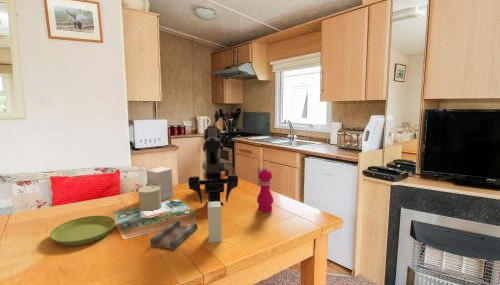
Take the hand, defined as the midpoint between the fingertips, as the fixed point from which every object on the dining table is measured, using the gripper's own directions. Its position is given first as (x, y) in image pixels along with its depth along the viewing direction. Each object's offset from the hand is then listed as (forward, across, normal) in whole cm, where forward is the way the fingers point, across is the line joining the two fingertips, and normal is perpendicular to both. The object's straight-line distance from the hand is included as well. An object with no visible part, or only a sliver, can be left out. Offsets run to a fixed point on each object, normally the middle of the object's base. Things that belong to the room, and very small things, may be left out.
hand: (214, 202), depth 101 cm
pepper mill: (-4, +22, +21) cm, 31 cm away
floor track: (+10, -14, +7) cm, 18 cm away
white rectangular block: (+12, 0, +5) cm, 13 cm away
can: (-6, -28, +23) cm, 36 cm away
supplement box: (-21, -27, +37) cm, 50 cm away
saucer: (+5, -48, +12) cm, 50 cm away
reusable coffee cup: (-28, 0, +44) cm, 52 cm away
